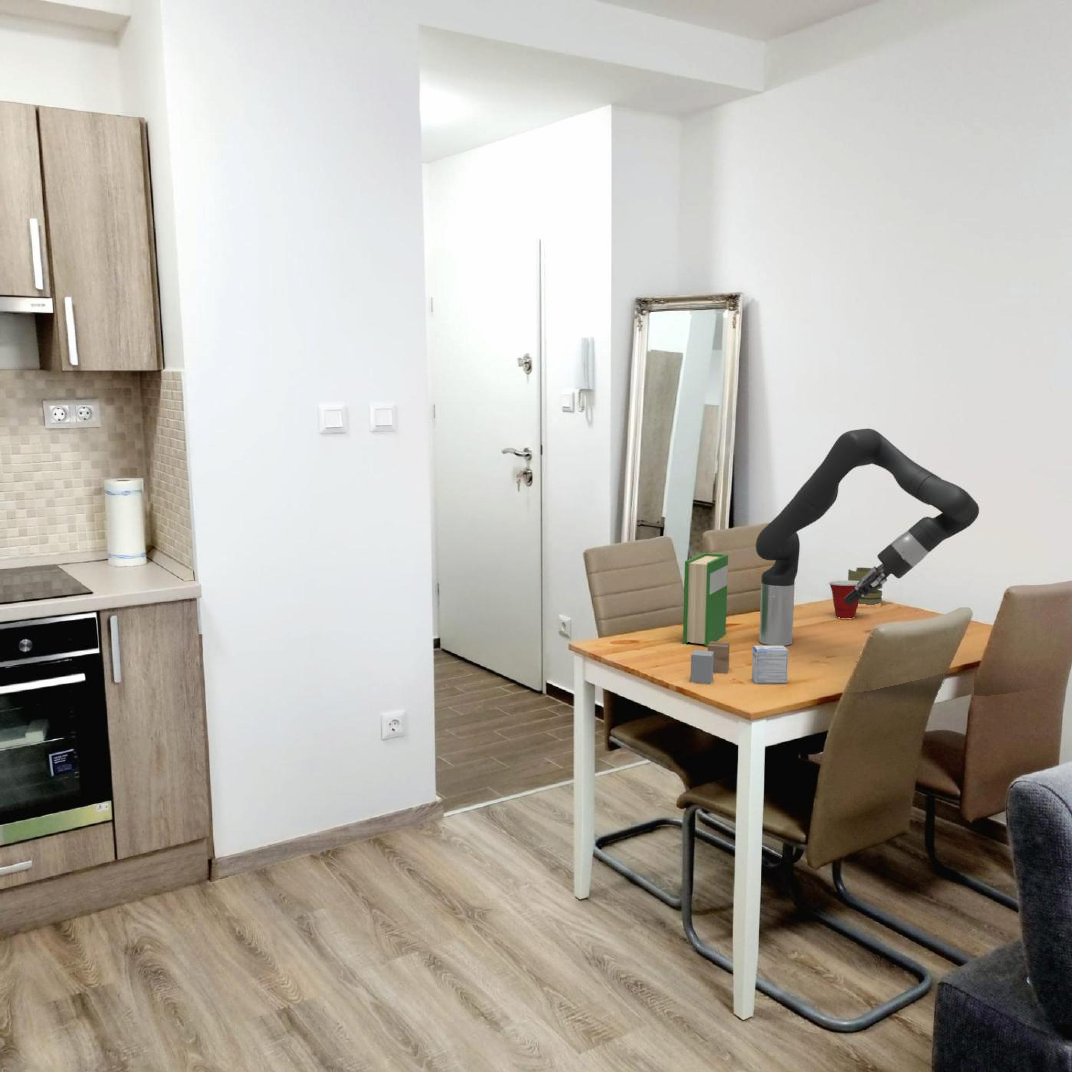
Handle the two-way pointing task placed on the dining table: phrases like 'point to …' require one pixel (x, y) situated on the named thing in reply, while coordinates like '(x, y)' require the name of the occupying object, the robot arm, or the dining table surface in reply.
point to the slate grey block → (702, 666)
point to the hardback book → (705, 598)
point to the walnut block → (720, 656)
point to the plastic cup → (839, 592)
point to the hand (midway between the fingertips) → (846, 602)
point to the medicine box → (769, 664)
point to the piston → (871, 597)
